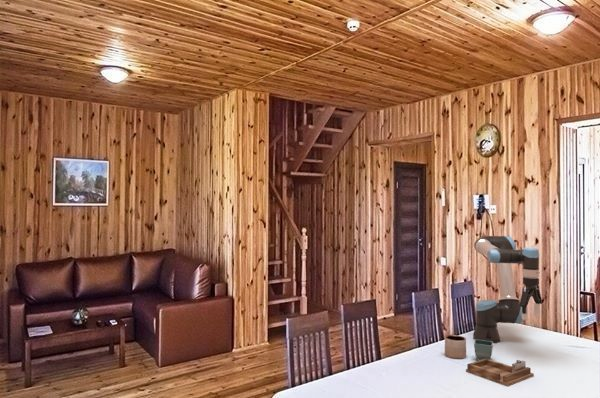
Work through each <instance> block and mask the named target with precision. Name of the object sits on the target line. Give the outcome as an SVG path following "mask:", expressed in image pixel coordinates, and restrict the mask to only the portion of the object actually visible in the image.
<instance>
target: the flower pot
mask: <svg viewBox="0 0 600 398" xmlns="http://www.w3.org/2000/svg"><path fill="white" fill-rule="evenodd" d="M493 345H494V343H493V342H492V341H485V340H477V339H475V340H474V342H473V347H474V348H473V349H474V355H475V357H476V359H477V361H479V360H482V359H485V358H486V359H489V360H491V357H492V354H493Z"/></svg>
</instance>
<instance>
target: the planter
mask: <svg viewBox="0 0 600 398" xmlns="http://www.w3.org/2000/svg"><path fill="white" fill-rule="evenodd" d="M444 355H445V356H447V357H448V358H450V359H455V360H456V359H457V360H460V359H461V360H463V359H464V358H466V357H467V338H466V337H464V336H463V335H462V336H461V335H457V334H456V335H455V334H449V335H448V334H447V335H445V336H444Z"/></svg>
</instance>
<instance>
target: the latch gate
mask: <svg viewBox="0 0 600 398" xmlns="http://www.w3.org/2000/svg"><path fill="white" fill-rule="evenodd" d="M526 365H527V363H526V360H524V359H523V360H522V359H521V360H519V359H517V360H516V362H514V363H512V364H511V366H512V372H515V371H518V370H521V369H523V368H526Z"/></svg>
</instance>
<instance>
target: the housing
mask: <svg viewBox="0 0 600 398" xmlns="http://www.w3.org/2000/svg"><path fill="white" fill-rule="evenodd" d="M466 366H467V368H466V369H465V372H466V373H467V374H471V375H474V376H477V377H480V378H483V379H484V380H488V381H491V382H494V383H497V384H500V385H503V386H506V387H509V386H512V385H515V384H517V383H520V382H523V381H525V380H527V379H530V378H532V377H534V376H535V375H534V373H533V372H531V367H528V366H527V367H526V368H523V369H521V370H518V371H515V372H512V365H508V364H506V363H505V364H504V363H502V362H498V361H495V360H493V359H490V360H489V359H486V358H485V359H482V360H477V361H473V362H470V363H467V365H466Z"/></svg>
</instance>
